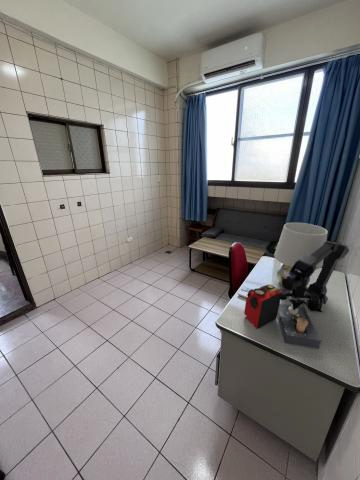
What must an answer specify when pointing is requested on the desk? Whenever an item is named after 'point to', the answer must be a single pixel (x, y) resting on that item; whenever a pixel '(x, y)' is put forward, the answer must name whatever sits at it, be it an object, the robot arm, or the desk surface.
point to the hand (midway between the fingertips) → (293, 309)
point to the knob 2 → (301, 325)
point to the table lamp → (298, 246)
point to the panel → (289, 326)
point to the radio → (262, 305)
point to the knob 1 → (292, 310)
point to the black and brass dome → (296, 317)
